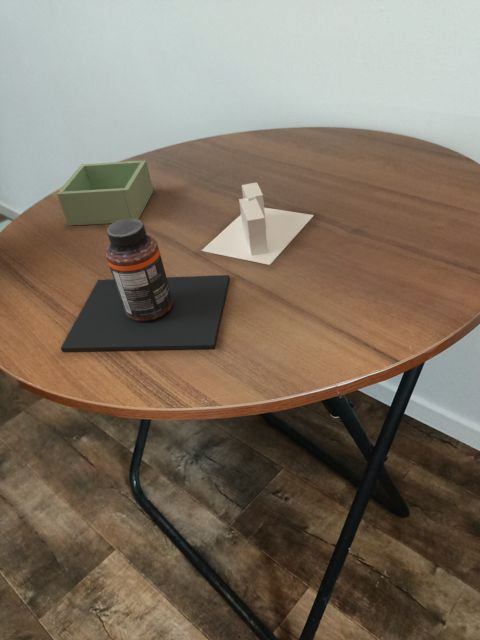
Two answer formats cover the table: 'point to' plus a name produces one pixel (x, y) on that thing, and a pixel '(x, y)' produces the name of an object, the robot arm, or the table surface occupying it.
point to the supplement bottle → (138, 271)
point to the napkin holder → (257, 230)
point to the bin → (106, 192)
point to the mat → (161, 334)
